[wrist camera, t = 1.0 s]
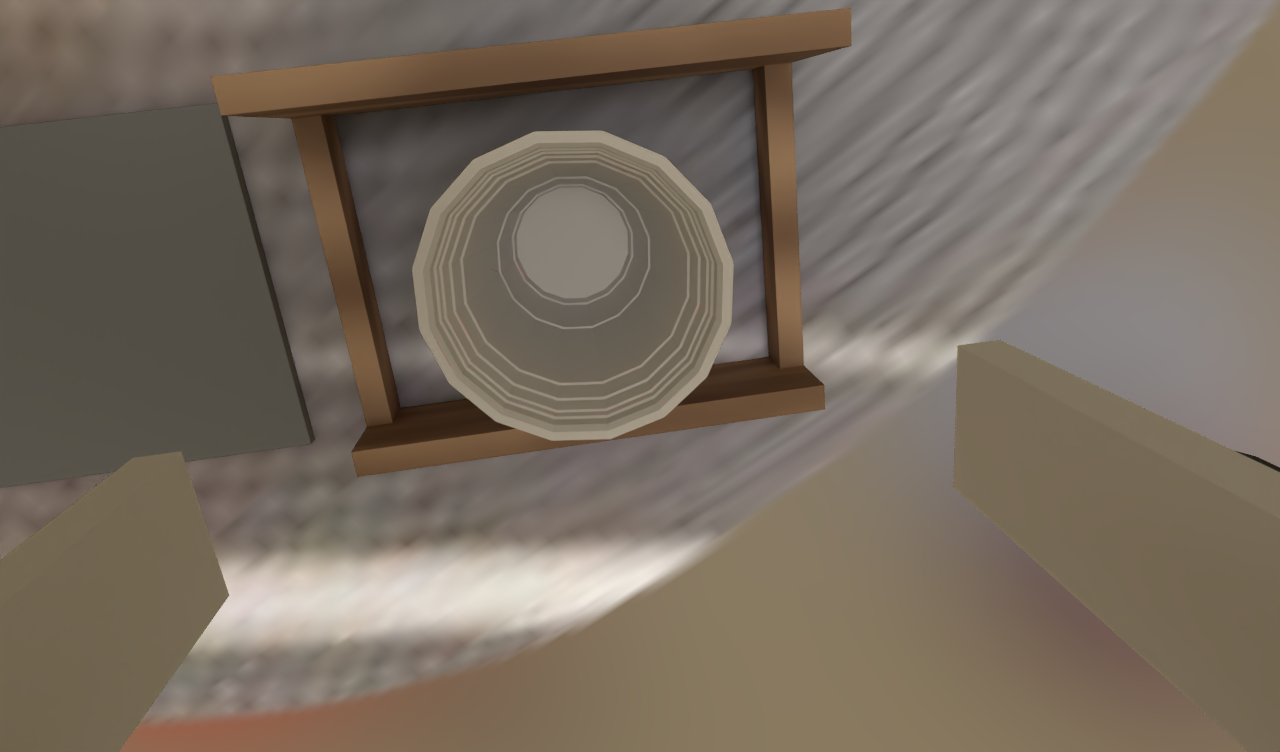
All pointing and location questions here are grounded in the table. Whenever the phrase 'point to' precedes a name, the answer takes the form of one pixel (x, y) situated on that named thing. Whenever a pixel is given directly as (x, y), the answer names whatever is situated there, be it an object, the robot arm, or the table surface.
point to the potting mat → (135, 299)
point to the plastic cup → (573, 285)
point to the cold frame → (528, 70)
